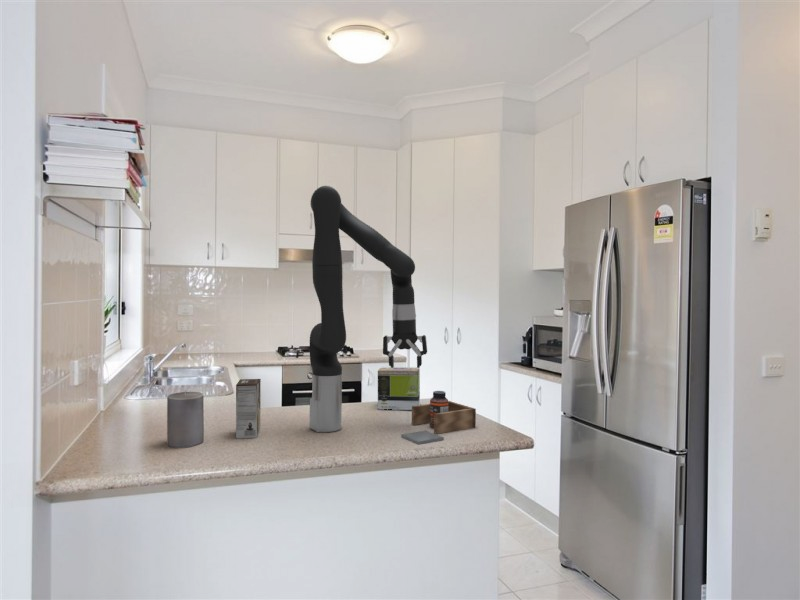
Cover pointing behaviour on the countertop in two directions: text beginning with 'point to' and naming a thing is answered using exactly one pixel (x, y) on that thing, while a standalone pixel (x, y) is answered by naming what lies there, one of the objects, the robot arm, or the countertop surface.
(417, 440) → the slate coaster
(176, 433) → the pillar candle
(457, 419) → the walnut cubby
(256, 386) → the coffee box
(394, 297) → the robot arm
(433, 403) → the supplement bottle
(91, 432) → the countertop surface
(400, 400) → the tea box
